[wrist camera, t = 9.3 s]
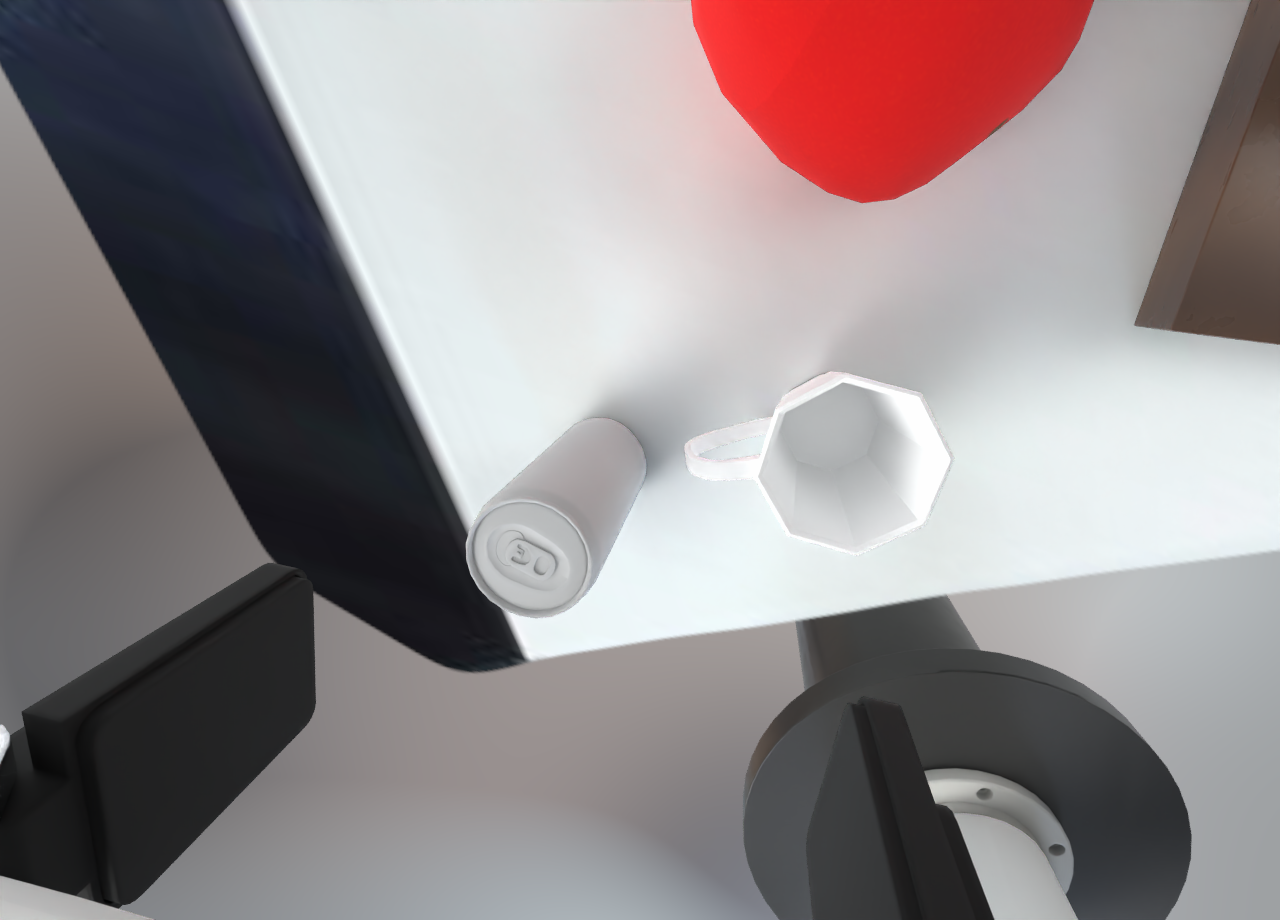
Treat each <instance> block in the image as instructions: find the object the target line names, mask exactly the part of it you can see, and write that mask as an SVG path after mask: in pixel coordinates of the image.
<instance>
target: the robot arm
mask: <svg viewBox="0 0 1280 920" xmlns="http://www.w3.org/2000/svg"><path fill="white" fill-rule="evenodd" d="M315 694H316V693H315V650H314V607H313V585H312V583H311V581H309V580H307V577H306V574H305V573H304V571H302V570H301V569H297V568H293V567H288V566H284V565H279V564H275V563H267V564H265V565H263V566H261V567H259V568H257V569H256V570H254V571H252V572H251V573H249V574H248V575H246V576H244V577H243V578H241V579H239V580H238V581H236V582H234V583H233V584H231V585H230V586H228V587H226V588H224V589H223V590H221V591H220V592H218V593H216V594H215V595H213V596H211V597H210V598H208V599H206V600H205V601H203V602H201V603H200V604H198V605H196V606H195V607H193V608H192V609H190V610H189V611H187V612H185V613H183V614H182V615H181V616H179V617H177V618H175V619H173V620H172V621H170V622H169V623H167V624H165V625H164V626H162V627H160V628H159V629H157V630H155V631H154V632H152V633H151V634H149V635H147V636H145V637H144V638H142V639H141V640H139V641H137V642H136V643H134V644H132V645H131V646H129V647H127V648H126V649H124V650H122V651H121V652H119V653H118V654H116V655H114V656H113V657H111V658H109V659H108V660H106V661H104V662H103V663H101V664H100V665H98V666H96V667H94V668H93V669H91V670H90V671H88V672H86V673H85V674H83V675H81V676H80V677H78V678H76V679H75V680H73V681H71V682H70V683H68V684H67V685H65V686H63V687H61V688H60V689H58V690H57V691H55V692H54V693H52V694H50V695H49V696H47V697H45V698H43V699H42V700H40V701H39V702H37V703H35V704H34V705H32V706H30V707H29V708H27V709H25V710H24V711H22V716H23V721H24V727H23V728H21V729H20V730H18V731H16V732H15V733H13V734H12V735H10V734H9V733H8V731H7V730H6V728H5V727H4V726H3V725H1V724H0V920H154V919H151V918H147V917H144V916H141V915H137V914H134V913H131V912H127V911H124V910H121V909H119V908H120V907H121V906H122V905H126V904H130V903H132V902H133V901H135V900H136V899H138V898H139V897H140V896H141V895H142V894H143V893H144V892H145V891H146V890H147V889H148V888H149V887H150V886H151V885H152V884H153V883H154V882H155V881H156V880H157V879H158V878H159V877H160V875H162V873H164V872H165V871H166V869H167V868H168V867H169V866H170V865H171V864H172V863H173V862H174V861H175V860H176V859H177V858H178V857H179V856H180V855H181V854H182V853H183V852H184V851H185V850H186V849H187V848H188V847H189V846H190V845H191V844H192V843H193V842H194V841H195V840H196V838H198V837H199V836H200V835H201V833H202V832H203V831H204V830H205V829H206V828H207V827H208V826H209V825H210V824H211V823H212V822H213V821H214V820H215V819H216V818H217V817H218V816H219V815H220V814H221V813H222V812H223V811H224V810H225V809H226V808H227V807H228V806H229V805H230V804H231V803H232V802H233V801H234V799H235V798H236V797H237V796H238V795H239V794H240V793H241V792H242V791H243V790H244V789H245V788H246V787H247V786H248V785H249V784H250V783H251V782H252V781H253V780H254V779H255V778H256V777H257V776H258V775H259V774H260V773H261V771H263V770H264V769H265V767H267V765H268V764H269V763H270V762H271V761H272V760H273V759H274V758H275V757H276V756H277V755H278V754H279V753H280V752H281V751H282V750H283V749H284V748H285V747H286V746H287V745H288V744H289V743H290V742H291V741H292V739H294V738H295V736H297V735H298V734H299V733H300V731H301V730H302V729H303V728H304V727H305V726H306V725H307V724H308V723H309V721H310V719H311V717H312V715H313V713H314V710H315V704H316V695H315ZM806 854H807V865H808V875H809V885H810V895H811V905H812V915H813V920H1078V919H1077V917H1076V915H1075V913H1074V911H1073V909H1072V907H1071V905H1070V903H1069V901H1068V899H1067V897H1066V893H1067V891H1068V890H1069V887H1070V883H1071V880H1072V877H1073V867H1074V857H1073V853H1072V849H1071V845H1070V842H1069V840H1068V838H1067V836H1066V834H1065V832H1064V830H1063V828H1062V826H1061V824H1060V822H1059V821H1058V820H1057V818H1056V817H1055V815H1054V814H1053V812H1052V811H1051V810H1050V808H1049V807H1048V806H1047V805H1046V804H1045V803H1044V802H1043V801H1041V800H1040V799H1039V798H1038V797H1037V796H1036V795H1035V794H1033V793H1032V792H1030V791H1029V790H1027V789H1025V788H1024V787H1022V786H1021V785H1019V784H1017V783H1015V782H1013V781H1010V780H1008V779H1005V778H1003V777H1001V776H998V775H994V774H990V773H986V772H982V771H978V770H969V769H959V768H949V769H932V770H927V771H924V770H923V767H922V765H921V762H920V759H919V756H918V753H917V750H916V747H915V745H914V742H913V739H912V736H911V733H910V730H909V727H908V725H907V722H906V719H905V716H904V713H903V710H902V708H901V706H900V705H898V704H895V703H890V702H886V701H882V700H877V699H873V698H868V697H864V696H863V697H861V698H860V700H859V701H858V704H853V703H847V705H846V707H845V709H844V712H843V715H842V719H841V722H840V725H839V729H838V732H837V735H836V739H835V742H834V745H833V749H832V752H831V755H830V759H829V762H828V765H827V768H826V772H825V775H824V778H823V782H822V785H821V788H820V792H819V795H818V798H817V802H816V805H815V808H814V812H813V815H812V818H811V821H810V825H809V829H808V834H807V843H806Z"/></svg>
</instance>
